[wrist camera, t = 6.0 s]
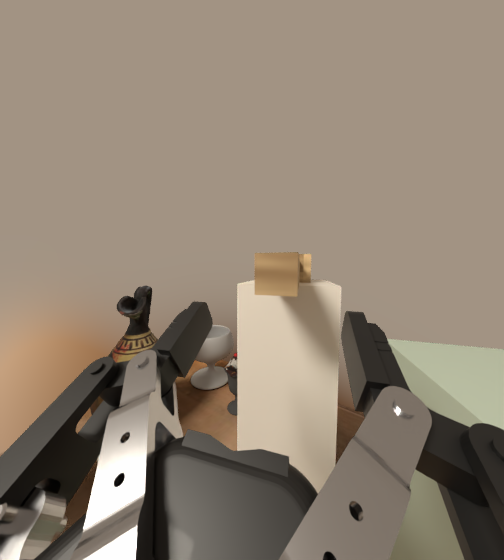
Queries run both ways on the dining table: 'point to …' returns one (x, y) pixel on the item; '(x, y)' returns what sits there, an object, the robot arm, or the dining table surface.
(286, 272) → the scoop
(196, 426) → the dining table surface
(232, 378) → the sundae
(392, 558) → the green tall block
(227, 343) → the chalice
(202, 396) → the dining table surface
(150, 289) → the ceramic jug
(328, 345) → the tall stand
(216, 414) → the dining table surface
